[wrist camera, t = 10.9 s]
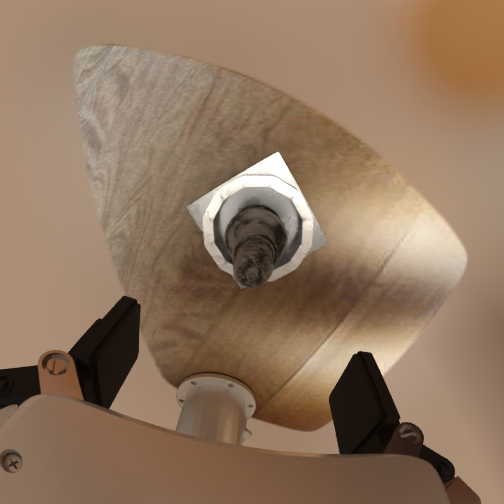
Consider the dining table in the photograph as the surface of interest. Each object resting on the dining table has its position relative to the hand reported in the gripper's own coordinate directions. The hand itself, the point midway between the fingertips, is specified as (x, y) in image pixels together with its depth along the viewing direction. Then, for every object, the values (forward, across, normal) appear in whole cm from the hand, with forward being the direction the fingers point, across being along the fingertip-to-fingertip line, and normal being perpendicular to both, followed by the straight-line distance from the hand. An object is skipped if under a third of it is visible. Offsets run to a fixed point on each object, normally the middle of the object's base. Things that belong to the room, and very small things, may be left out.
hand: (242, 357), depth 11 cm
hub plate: (+21, 0, -1) cm, 21 cm away
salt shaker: (+20, 0, 0) cm, 20 cm away
